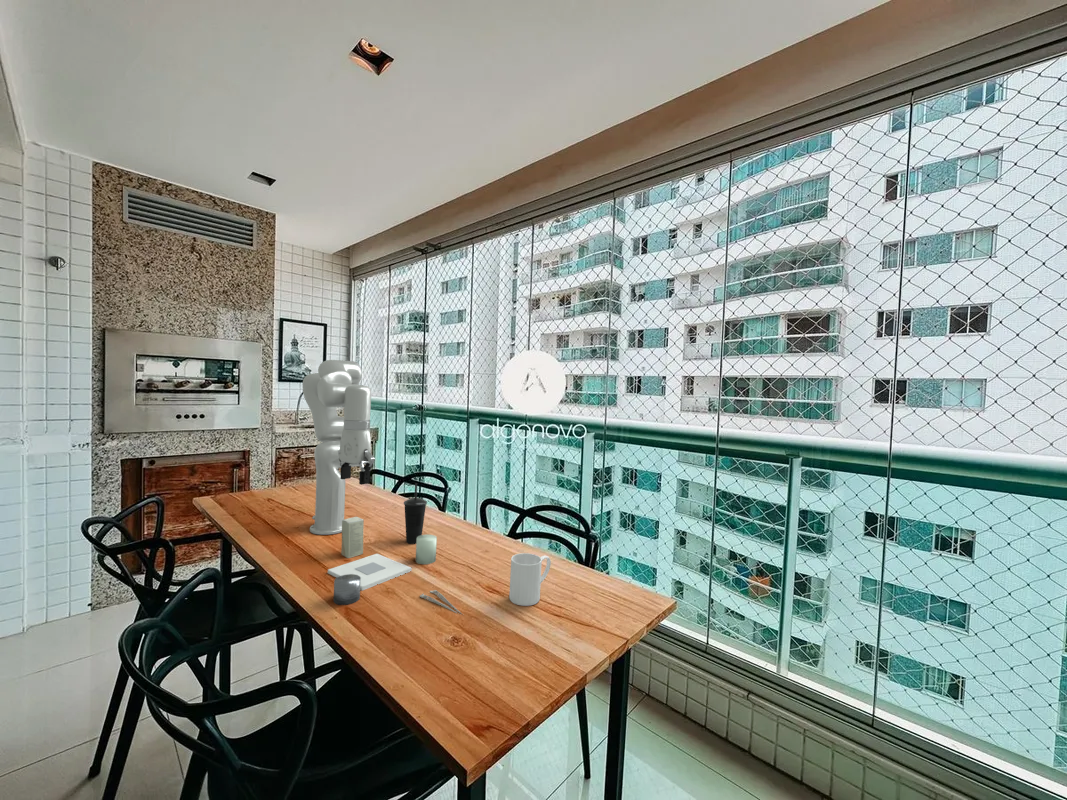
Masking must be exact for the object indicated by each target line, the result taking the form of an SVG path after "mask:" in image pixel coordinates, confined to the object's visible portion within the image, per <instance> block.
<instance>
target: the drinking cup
mask: <svg viewBox="0 0 1067 800" xmlns="http://www.w3.org/2000/svg"><path fill="white" fill-rule="evenodd" d="M417 496H418V483H416V482H415V483H414V497H412V498H409V499H406V500H404V502H403V505H404V519H405V520H404V521H405V522H404V523H405V524H404V525H405V538H406V539H405V543H407V544H409V545H416V541H417V537H418V536H420V535H423V529H424V524H425V523H424V521H425V515H426V514H425V513H426V506H427V504H428V502H427V500H425V499H423V498H421V497H417Z"/></svg>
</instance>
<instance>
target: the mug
mask: <svg viewBox="0 0 1067 800" xmlns="http://www.w3.org/2000/svg"><path fill="white" fill-rule="evenodd" d="M545 559H546V565H545V566H546V567H545V568H544V571H543V573H542V565H543V564H542V562H543V561H544V560H545ZM510 560H511V561H510V577H509V578H510V579H509V582H510V583H509V596H508V597H509V601H510V602H511V603H513V604H514V605H517V606H523V607H529V606H533V605H536V604H537V603H539V601H540V597H541V584H542V582H544V581H545V579H546V577H547V576H548V574H549V573H550V570H551V562H552V561H551V558H550V557H549V556H548V555H542V556H539V555H537V554H533V553H529V552H527V553H526V552H521V553H516V554H513V555H512V556H511V558H510Z"/></svg>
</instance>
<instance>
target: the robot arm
mask: <svg viewBox="0 0 1067 800" xmlns="http://www.w3.org/2000/svg"><path fill="white" fill-rule="evenodd" d="M317 368H318V369H317V372H313V373H309V374H306V375H305V376H304V378H303V379H302V393H303V394H302V395H303V397H304V400H305V402H306V404H307V406H308V408H309V410H310V412H311V417H312V421H313V427H314V433H315V437H316V439H317V440H318V441H319V442H320V443H319V444H317V445H316V447H315V448H314V456H313V457H314V463H315V474H316V475H315V478H316V480H315V482H316V483H315V507H314V508H315V509H314V515H313V516H312V520H314V523H313V524H312V525H310V527H309V532H310V533H311V534H313V535H318V536H319V535H322V536H323V535H324V536H325V535H329V536H330V535H335V534H340V533H342V520H344V519H345V509H346V508H345V504H346V503H345V502H346V480H348V479H351V478H352V477H351V475H352V468H353V467H359V469H360V471H359V477H358V480H359V482H358V483H359V485H367V484H370V480H371V479H370V478H371V471H372V468H373V467H374V463H375V460H376V459H375V456H374V455H373V454H372V445H371V444H372V441H371V440H372V438H371V433H370V432H371V431H370V429H371V406H372V405H371V404H372V390H371V388H370V387H369V386H367V385H364V384H363V385H362V384H360V382H361V380H362V376H363V371H362V367H361V365H360V364H359V363H358V362H356V361H353V360H352V361H351V360H342V359H341V360H340V359H329V360H328V359H326V360H324V361H322V362H321V363H320V364H319V366H318V367H317ZM337 408H343V416H340V415H338V410H337ZM339 469H340V470H339Z"/></svg>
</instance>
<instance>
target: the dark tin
mask: <svg viewBox="0 0 1067 800" xmlns="http://www.w3.org/2000/svg"><path fill="white" fill-rule="evenodd" d="M360 580H361V578H360V576H358V575H354V574H347V575H342V576H339V577H337V578H336V577H335V579H334V582H333V603H334V604H335V605H338V606H349V605H353V604H355V603H357V602H358V601H359V600H360V599H361V590H360Z"/></svg>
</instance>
